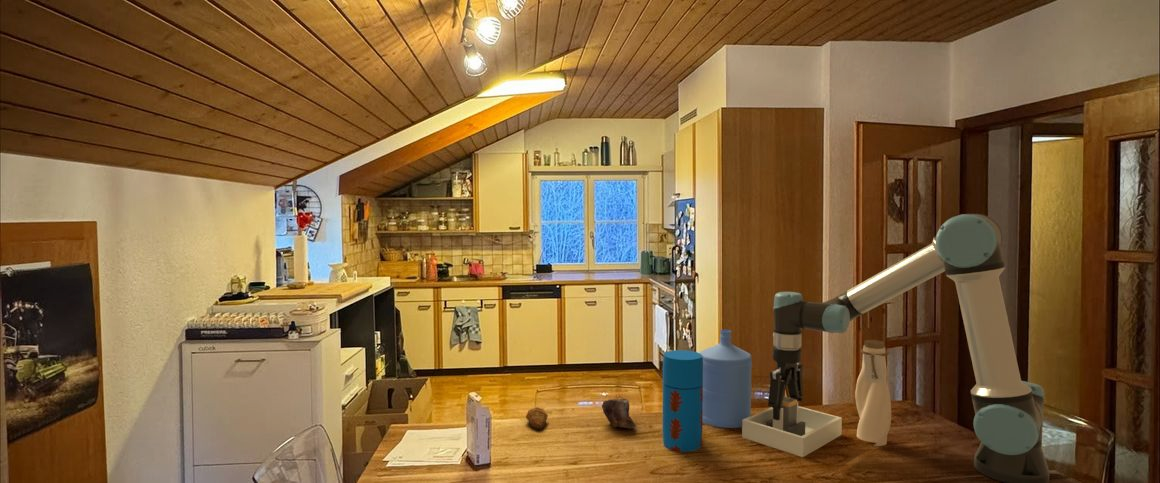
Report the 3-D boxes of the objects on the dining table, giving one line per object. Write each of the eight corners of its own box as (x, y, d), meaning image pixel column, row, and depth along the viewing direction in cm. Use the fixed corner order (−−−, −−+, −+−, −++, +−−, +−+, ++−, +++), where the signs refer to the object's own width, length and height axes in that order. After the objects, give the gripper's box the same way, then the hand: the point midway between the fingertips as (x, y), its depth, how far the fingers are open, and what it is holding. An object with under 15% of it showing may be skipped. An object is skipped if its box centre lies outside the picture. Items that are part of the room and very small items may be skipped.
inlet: (805, 434, 172) (805, 422, 172) (791, 441, 167) (791, 429, 167) (779, 426, 178) (780, 415, 178) (765, 433, 173) (765, 421, 172)
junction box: (841, 438, 172) (841, 417, 171) (802, 460, 157) (803, 438, 157) (782, 421, 185) (783, 402, 185) (742, 440, 170) (742, 419, 170)
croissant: (524, 416, 191) (524, 400, 190) (545, 414, 192) (545, 399, 191) (527, 432, 177) (527, 415, 177) (550, 431, 178) (550, 414, 178)
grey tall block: (796, 434, 172) (797, 399, 171) (788, 438, 169) (789, 403, 169) (782, 430, 175) (783, 396, 175) (774, 433, 173) (775, 399, 172)
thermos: (656, 447, 166) (657, 357, 164) (670, 433, 176) (670, 348, 174) (695, 454, 161) (696, 361, 159) (707, 440, 170) (707, 352, 169)
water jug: (761, 428, 180) (762, 334, 178) (713, 433, 176) (714, 337, 174) (734, 410, 195) (735, 324, 193) (689, 415, 191) (690, 327, 189)
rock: (633, 423, 188) (600, 422, 188) (633, 394, 188) (601, 394, 188) (636, 431, 176) (602, 430, 176) (637, 401, 177) (602, 400, 177)
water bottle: (895, 450, 163) (899, 347, 161) (859, 447, 165) (862, 346, 163) (884, 435, 173) (887, 339, 171) (850, 433, 175) (853, 337, 173)
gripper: (793, 339, 180) (791, 414, 182) (755, 351, 167) (753, 432, 168) (817, 343, 175) (815, 421, 176) (780, 356, 161) (778, 440, 163)
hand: (785, 426), depth 172 cm, fingers open, 8 cm apart
